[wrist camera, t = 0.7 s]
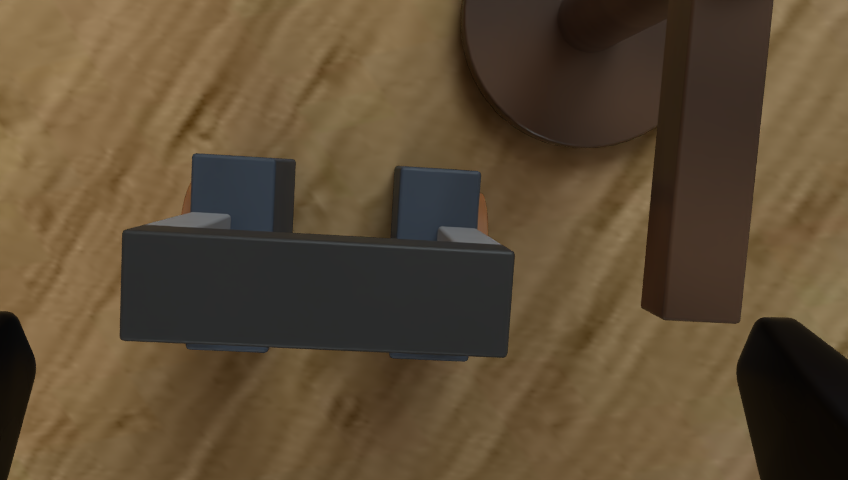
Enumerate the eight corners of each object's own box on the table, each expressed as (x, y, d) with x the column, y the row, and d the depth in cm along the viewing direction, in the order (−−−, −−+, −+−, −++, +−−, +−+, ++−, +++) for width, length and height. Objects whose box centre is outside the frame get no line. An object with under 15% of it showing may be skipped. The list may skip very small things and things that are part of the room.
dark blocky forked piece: (462, 323, 24) (523, 433, 14) (210, 311, 23) (93, 417, 14) (472, 170, 23) (543, 175, 14) (215, 154, 23) (99, 147, 13)
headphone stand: (682, 262, 24) (946, 347, 13) (444, 249, 24) (509, 326, 12) (716, -95, 23) (1035, -336, 12) (469, -118, 23) (562, -392, 11)
